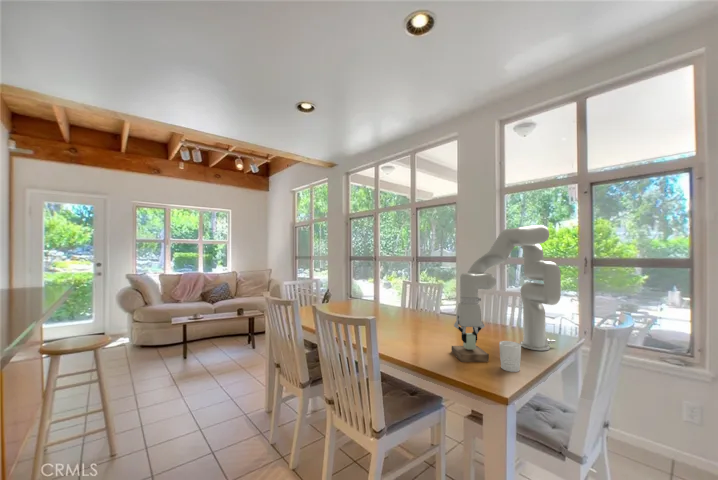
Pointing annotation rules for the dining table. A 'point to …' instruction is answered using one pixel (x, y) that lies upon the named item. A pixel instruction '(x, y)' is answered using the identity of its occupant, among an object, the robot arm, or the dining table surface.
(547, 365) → the dining table surface
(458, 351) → the walnut base
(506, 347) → the white cup
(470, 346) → the sage block
